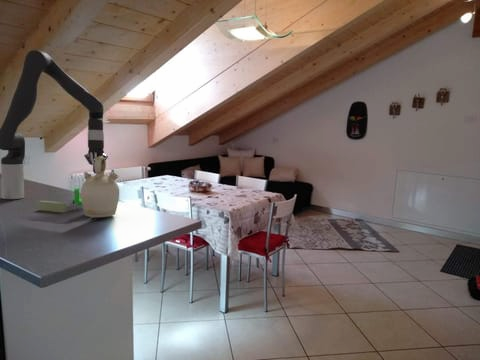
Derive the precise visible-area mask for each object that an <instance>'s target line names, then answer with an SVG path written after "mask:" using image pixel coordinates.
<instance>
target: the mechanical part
mask: <svg viewBox="0 0 480 360" xmlns="http://www.w3.org/2000/svg"><path fill="white" fill-rule="evenodd" d="M73 190H74V194H73V195H74V197H73V200H74V204H78V206H82V201H81V196H80V188H79V187H77V188H76V187H74V189H73Z"/></svg>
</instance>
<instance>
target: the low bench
mask: <svg viewBox="0 0 480 360" xmlns="http://www.w3.org/2000/svg"><path fill="white" fill-rule="evenodd" d="M78 207H79V205H78V204H75V203H71V204H67V203H66V202H58V201H49V200H39V201H38V208H39V209H38V210H39V211H44V212H53V213H62V214H64V213H68V212H71V211H74V210H79V209H78Z"/></svg>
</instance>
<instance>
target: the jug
mask: <svg viewBox="0 0 480 360" xmlns="http://www.w3.org/2000/svg"><path fill="white" fill-rule="evenodd" d="M106 167H107V159H106V160H105V158H104V157H102V156H99V157H97V159H96V161H95V172H96V173H95V175H93V176H92V175H91V173H90V172H88V171H85V172H83V175H84V179H85V181H84V182H83V184H82V186H81V188H80V192H79V196H80V197H81V201H82V205H81V206H82V210H83V212H84V213H83V214H84V216H85V217H87V218H88V217H89V218H107V217H112V216H115V215H116V213H117V209H118V205H119V200H120V199H119V198H120V188H119V185H118V183H117V181H116V179H119V175H118V174H117V173H115V172H114V171H110V174H109V176H107V175H106V174H105V172H106V170H107V169H106Z"/></svg>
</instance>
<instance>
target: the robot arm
mask: <svg viewBox="0 0 480 360" xmlns="http://www.w3.org/2000/svg"><path fill="white" fill-rule="evenodd" d="M23 62H24V63H23V65H22V66H23V67H22V72H21V75H20V78H19V80H18V82H17V84H16V85H17V86H16V89H15V90H14V93H13V96H12V99H11V101H10V105H9V108H8V110H7V112H6V113H7V114H6V116H5V119H4V120H3V122H2V125H0V150H2V151H7V154H6V155H4V156H3V157H1V158H0V167H1V168H0V169H1V170H0V171H1V178H0V198H1V199H3V200H17V199H18V200H19V199H24V198H25V180H24V179H25V178H24V160H25V157H26V141H25V140H26V139H25V137H24V135H23V134H22V133H21V132H19V131H18V128H19V126H20V125H21V124H22V123H23V122H24V120H26V119H27V118H28V117H29V116H30V114H31V113H32V112H33V110H34V107H35V105H36V101H37V98H38V83H39V82H38V81H39V79H40V78H41V75H42V73H45V74H46V75H48V76H49V77H51V78H52V79H53V80H54V81H55V82H57V84H59V86H60V87H61V88H62V89H63V90H64V91H65V92H66V93H67V94H68V95H70V96H71V97H72V98H73V99H74V100H75V101H78V102H79V103H80V104H81V105H83V106H84V108H85V109H87V110H88V116H89V117H88V121H87V148H88V150H87V151H88V152H87V153H85V154H84V155H83V156H84V158H85V160H86V161H87V162H88V164H89V165H90V166H91V165H92V171H93V174H96V172H95V161H96V159H97V157H99V156H102V157H104V158H105V160H106V161H107V159H108V158H109V157H108V155H107V154H105V151H104V148H105V135H104V121H103V119H104V104H103V103H102V101H101V100H100V99H98V98H97V97H96V96H94V95H93V94H91V93H90V92H89V91H88V90H87V88H85V87H83V86H82V85H81V84H80V83H79V82H78V81H77V80H75V79H74V78H72V77H71V76H70V75H69V74H68V73H66V72H65V71H64V70H63V69H62V68H61V66H59V65H58V64H57V62H56V61H55V60H54V59H53V58H52V57H51V56H50V55H49V54H48V53H47V52H45V51H42V50H37V49H32V50H30V51H28V52H27V54H26V55H25V58H24V61H23Z"/></svg>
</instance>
